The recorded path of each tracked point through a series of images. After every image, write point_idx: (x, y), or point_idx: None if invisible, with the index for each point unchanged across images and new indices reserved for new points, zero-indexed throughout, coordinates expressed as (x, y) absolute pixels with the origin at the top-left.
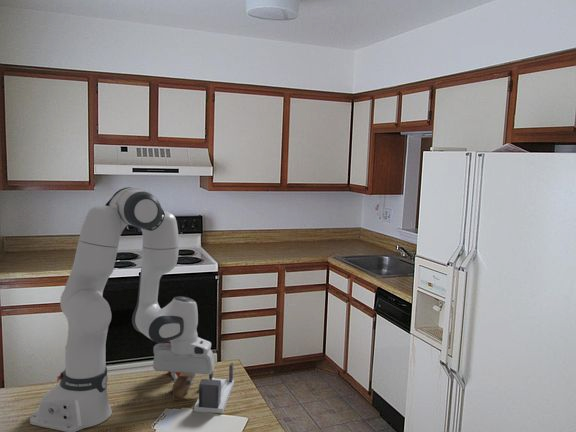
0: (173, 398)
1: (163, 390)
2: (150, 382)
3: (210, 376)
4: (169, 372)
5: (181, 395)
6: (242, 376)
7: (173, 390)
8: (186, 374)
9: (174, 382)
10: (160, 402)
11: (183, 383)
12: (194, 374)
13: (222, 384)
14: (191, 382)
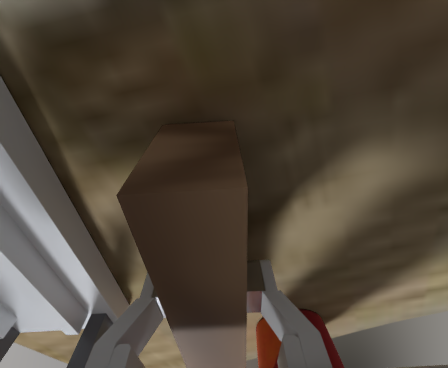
0: (228, 124)
1: (323, 216)
2: (399, 264)
3: (87, 340)
4: (320, 328)
5: (157, 140)
6: (34, 346)
7: (234, 154)
8: (197, 344)
9: (270, 267)
10: (322, 58)
11: (137, 243)
12: (86, 366)
13: (12, 300)
14: (144, 284)
